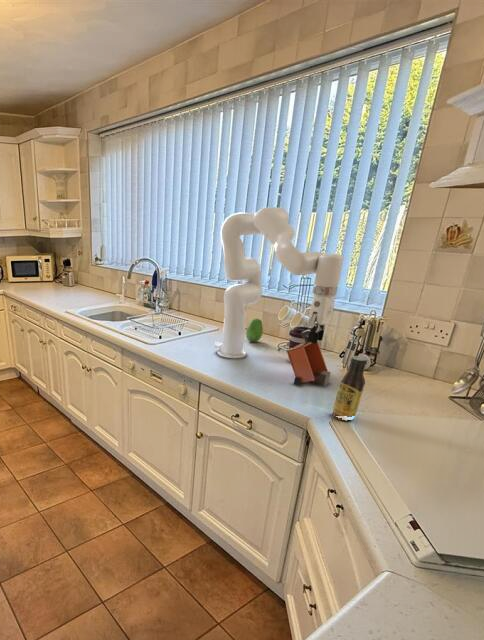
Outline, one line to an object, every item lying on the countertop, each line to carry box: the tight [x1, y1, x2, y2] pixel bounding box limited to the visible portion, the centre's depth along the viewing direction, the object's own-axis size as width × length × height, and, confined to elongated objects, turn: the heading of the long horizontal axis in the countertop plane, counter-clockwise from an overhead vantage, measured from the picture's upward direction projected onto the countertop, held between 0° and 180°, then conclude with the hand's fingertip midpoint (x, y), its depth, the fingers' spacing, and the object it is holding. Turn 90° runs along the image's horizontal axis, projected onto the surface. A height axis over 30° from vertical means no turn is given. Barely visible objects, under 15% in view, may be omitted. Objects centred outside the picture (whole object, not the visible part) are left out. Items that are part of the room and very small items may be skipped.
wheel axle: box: [293, 376, 301, 387], centre depth 151 cm, size 2×16×3 cm, turn 134°
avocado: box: [245, 318, 264, 343], centre depth 197 cm, size 8×8×12 cm
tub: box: [286, 326, 329, 384], centre depth 147 cm, size 18×13×11 cm
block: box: [310, 369, 332, 387], centre depth 147 cm, size 4×4×4 cm
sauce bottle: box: [332, 355, 368, 422], centre depth 118 cm, size 6×6×20 cm
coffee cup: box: [288, 326, 310, 364], centre depth 167 cm, size 10×10×15 cm
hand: (314, 340), depth 145 cm, fingers closed on tub, 4 cm apart
